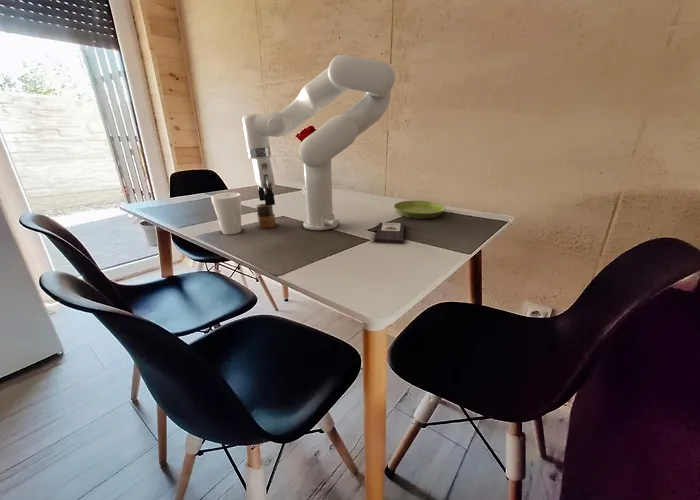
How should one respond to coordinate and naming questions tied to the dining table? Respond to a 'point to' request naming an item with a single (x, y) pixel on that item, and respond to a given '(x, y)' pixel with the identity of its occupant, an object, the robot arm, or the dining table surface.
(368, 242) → the dining table surface
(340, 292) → the dining table surface
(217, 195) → the foam cup
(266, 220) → the oak chip middle
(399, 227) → the chocolate bar
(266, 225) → the oak base
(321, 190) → the robot arm
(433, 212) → the saucer
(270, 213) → the walnut chip
